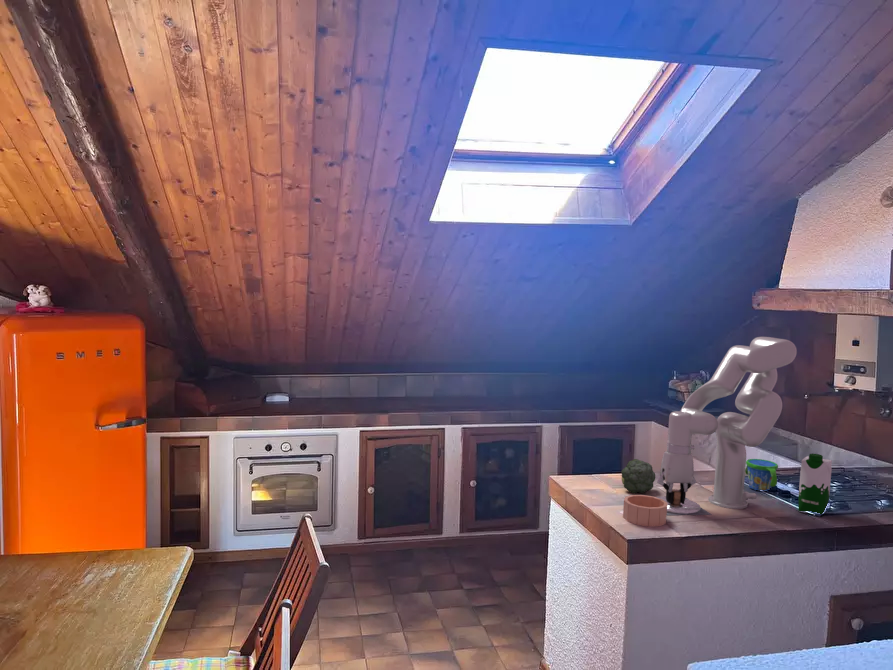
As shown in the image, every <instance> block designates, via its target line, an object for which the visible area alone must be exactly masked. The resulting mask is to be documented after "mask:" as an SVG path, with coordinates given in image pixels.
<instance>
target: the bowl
mask: <svg viewBox="0 0 893 670" xmlns="http://www.w3.org/2000/svg"><path fill="white" fill-rule="evenodd" d="M656 497H657V496H653V495H652V496H651V495H646V494H645V495H644V494H631V495H627V496H625V497H624V499H623V509H622V510H623V511H622V512H623V513H622V518H623V519H624V520H625V521H627V522H628V523H631V524H633V525H638V526H643V527H661V526H664V525H666V523H667V518H668V516H667V502H665V501H664V500H663V499H660V498H656Z"/></svg>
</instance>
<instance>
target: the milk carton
mask: <svg viewBox="0 0 893 670" xmlns="http://www.w3.org/2000/svg"><path fill="white" fill-rule="evenodd" d="M832 462H833V460H831V459H828V458H827V459H825V458H824V455H822V454H818V453H809V454H808V455H807V456H805V457H804V458H803V459H801V464H800V473H799V483H798V484H799V485H798V487H799V488H798V497H797V499H798V500H797V501H798V505H797V506H798V512H799V511H812V512H817V513H820V514H822V513H823V512H824V510H825V508H826V506H827V504H828V505H829V501H830V492H831V491H830V490H831V482H832V481H831V480H832V479H831V478H832V472H833V471H832V464H833V463H832ZM827 507H828V506H827Z"/></svg>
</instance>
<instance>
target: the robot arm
mask: <svg viewBox="0 0 893 670" xmlns="http://www.w3.org/2000/svg"><path fill="white" fill-rule="evenodd" d="M797 353H798V351H797V346H796V345H795V343H794V342H792V341H791V340H788V339H785V338H777V337H772V336H771V337H770V336H757V337H754V338H753V339H752V340H751V341H750V343H749V346H748V345H739V344H736V345H733V346H731V347H730V348H729V349H728V350H727V352H726V353H725V355H724V356H723V358H722V360H721V362H720V363H719V365H718V366H717V367H716V370H715V372H714V373H713V375H712V377H710V379H709V380H708V381H707V382H705V383H704V384H702V385H700V386H699V388H697V389H696V390H694V391H693V392H692V393H691V394H690V395H689V396H688V397H687V398H686V400H685V402H684V404H683V405H682V407H681V408H680V410H679V411H678V410H676V411H672V412H670V414H669V417H668V430H667V433H668V435H667V442H666V443H667V444H666V445H667V446H666V451H664V452H663V455H662V459H661V463H660V472H659V477H658V479H657V481H656V482H657V484H658V485H661V486H662V487H663V489H664V490H665V496H666V500H667V502H668V503H670V504H673V492H672V489H674V488H673V487H674V484H679V487H680V488H679V489H678V490H680V491H682V494H681V503H682V504H684V501H685V498H687V497H686V496H687V495H686V494H687V492H688V491H689V489H690V488H691V487H693V486H694V485H695V484H696V483H697V480H696V478H695V476H694V475H695V473H694V472H695V471H694V469H695V468H694V467H695V466H694V456H693V453H692V450H695V445H693V444H692V440H693V439H692V438H693V436H692V435H697V436H698V435H700V436H711V435H712V434H714V433H715V436H716V457H715V467H714V469H715V470H714V482H713V485H714V486H713V494H711V495H709V496H708V499H707V501H708V502H709V503H710V504H712V505H714V506H717V507H721V508H726V509H734V510H739V509H746V508H748V503H749V502H748V500H749V499H750V500H754V499H755V500H756V499H757V497H758V496H757V494H756V493H755V492H754V493H753V492H751V493H750V492H749V491H745V478H746V472H745V470H746V466H747V465H746V461H747V449H746V447H749V448H755V447H758V446H759V445H761V444H763V442H765V440H766V438H767V437H768V435H769V433H770V432H771V430H772V429H773V427H774V426H775V424H776V422H777V420H778V419H779V417H780V415H781V414H782V411H783V410H782V409H783V401H782V398H781V396H780V395H779V394H778V393H777V392H775V391H773V389H774V388H775V386H776V383H777V382H778V371H777V369H778V368H782V367H785V366H788V365H789V364H791V363H793V361H794V360H795V358H796V356H797ZM746 373H750V374H749V376H748V378H747V380H746V381H745V382H744V384H743V386H742V387H741V388H740V391H739V392H738V393H737V396H736V398H735V402H734V406H735V407H736V409H737V410H738V411H740V412H742V413H743V414H741V413H739V412H738V413H737V412H734V411H733V412H732V411H727V412H723V413H721V414H720V415H719V416H718V417H715V416H714V415H713V414H711V413H709V412H706V411H703V410H704V409H705V407H706V406H708V405H709V404H710V403H711V402H713V401H715V400H718V399H721V398H726V397H727V396H730V395H733V394H734V393H735V392H736V390H737V388H738V387H739V385H740V383H741V382H742V380H743V379H744V377H745V375H746ZM745 414H747V415H749V416H747V415H745Z"/></svg>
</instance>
